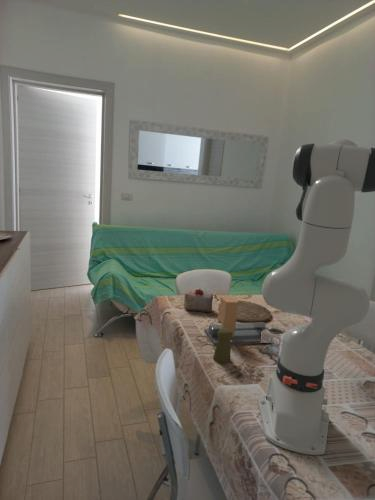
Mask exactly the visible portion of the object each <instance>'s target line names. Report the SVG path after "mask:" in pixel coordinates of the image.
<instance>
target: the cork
mask: <svg viewBox="0 0 375 500" xmlns="http://www.w3.org/2000/svg"><path fill="white" fill-rule="evenodd" d="M217 335H218V342H217V345H215V346H216V347H215V350H214V353H213V357H212V360H213V361H214V362H216V363H217V364H221V365H227V364H230V363H231V361H232V360H231V345H230V340H231V339H232V336H233V334H232V331H231V330H229V329H227V328H221V329H219V331H218V333H217Z"/></svg>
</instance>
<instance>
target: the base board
mask: <svg viewBox="0 0 375 500" xmlns="http://www.w3.org/2000/svg"><path fill="white" fill-rule="evenodd" d="M203 331H204V333H205V335H206V336H207V338H208V339H209V340H210V342H211V343H212V345H213V346H216V345H217V342H218V337H216V338H212V337H211V336H210V335H209V333H208V332H209V328H204V330H203ZM256 331H257V330H244V331H235V333H234V337H232V339H231V340H230V346H235V345H237V346H238V345H239V346H240V345H261V344H260V342H261V336H260V335H259V334H258V333H257V332H256Z"/></svg>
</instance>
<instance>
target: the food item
mask: <svg viewBox="0 0 375 500" xmlns="http://www.w3.org/2000/svg"><path fill="white" fill-rule="evenodd" d="M213 295H214V294H213V293H208V292H204V291H203V290H202V289H201V288H198V289H195V291H190V290H189V291H188V290H187V291H186V292H185V293H184V297H183V298H184V299H183V308H184V311H191V312H192V311H195V312H203V313H210V314H212V310H213V300H214V297H213Z"/></svg>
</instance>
